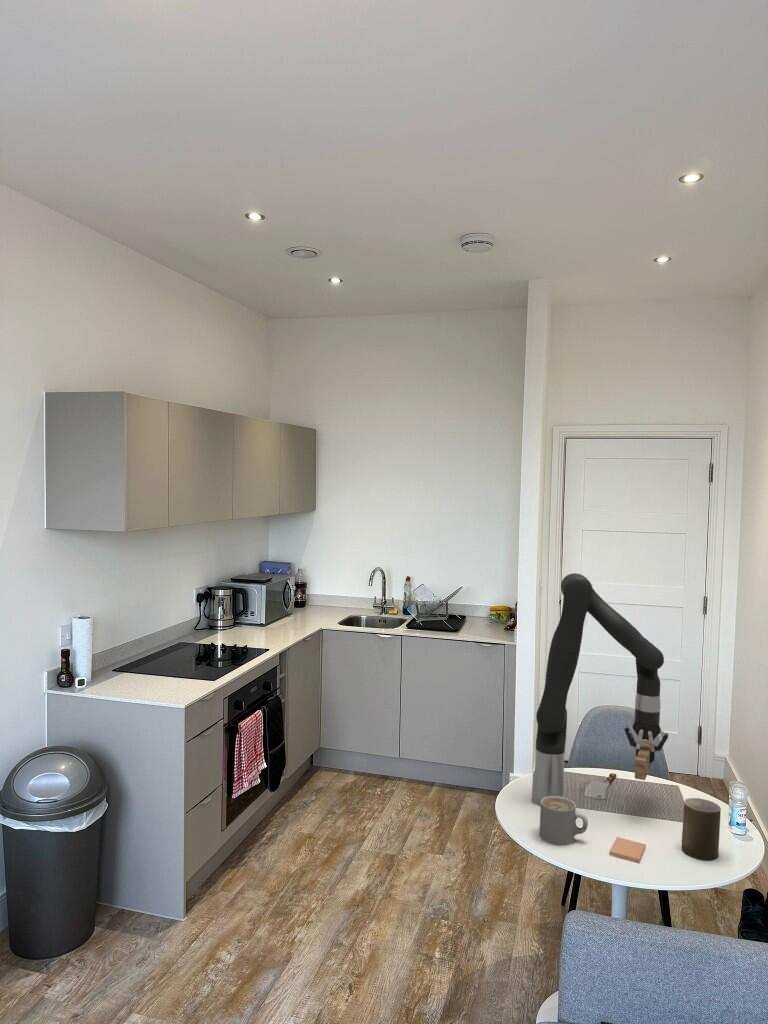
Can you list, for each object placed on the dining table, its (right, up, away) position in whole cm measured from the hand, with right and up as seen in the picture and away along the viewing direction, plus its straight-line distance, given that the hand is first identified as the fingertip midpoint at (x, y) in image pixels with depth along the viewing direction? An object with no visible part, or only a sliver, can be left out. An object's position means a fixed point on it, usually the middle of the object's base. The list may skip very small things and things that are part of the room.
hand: (645, 760), depth 229 cm
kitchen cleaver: (-9, -16, +19) cm, 26 cm away
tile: (-12, -16, -21) cm, 29 cm away
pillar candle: (+7, -18, -24) cm, 31 cm away
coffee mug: (-31, -16, -19) cm, 40 cm away
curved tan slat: (0, -2, 0) cm, 2 cm away
